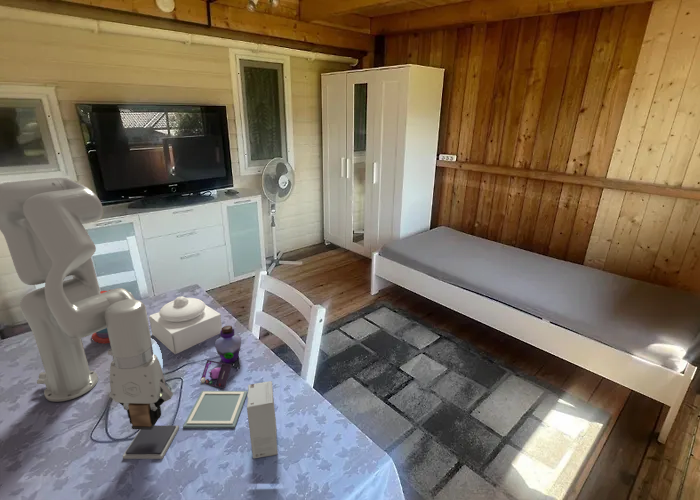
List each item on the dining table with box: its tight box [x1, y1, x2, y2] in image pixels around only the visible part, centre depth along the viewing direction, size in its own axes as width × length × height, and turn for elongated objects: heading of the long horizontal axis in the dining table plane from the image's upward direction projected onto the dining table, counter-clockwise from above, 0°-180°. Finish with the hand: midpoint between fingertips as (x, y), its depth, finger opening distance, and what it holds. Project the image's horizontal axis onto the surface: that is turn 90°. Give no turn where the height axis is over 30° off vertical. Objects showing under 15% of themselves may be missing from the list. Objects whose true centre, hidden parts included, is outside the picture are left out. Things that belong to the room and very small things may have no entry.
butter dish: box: [148, 296, 223, 355], centre depth 131 cm, size 18×18×16 cm
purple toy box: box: [200, 359, 232, 389], centre depth 111 cm, size 7×5×9 cm
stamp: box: [128, 403, 158, 430], centre depth 86 cm, size 4×4×7 cm
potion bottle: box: [214, 325, 242, 364], centre depth 118 cm, size 9×9×12 cm
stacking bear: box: [91, 290, 110, 344], centre depth 129 cm, size 11×10×18 cm
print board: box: [182, 390, 248, 429], centre depth 99 cm, size 13×13×1 cm
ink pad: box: [122, 424, 180, 460], centre depth 89 cm, size 9×9×1 cm
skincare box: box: [246, 380, 278, 459], centre depth 87 cm, size 8×6×15 cm
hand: (145, 418), depth 87 cm, fingers closed on stamp, 4 cm apart
